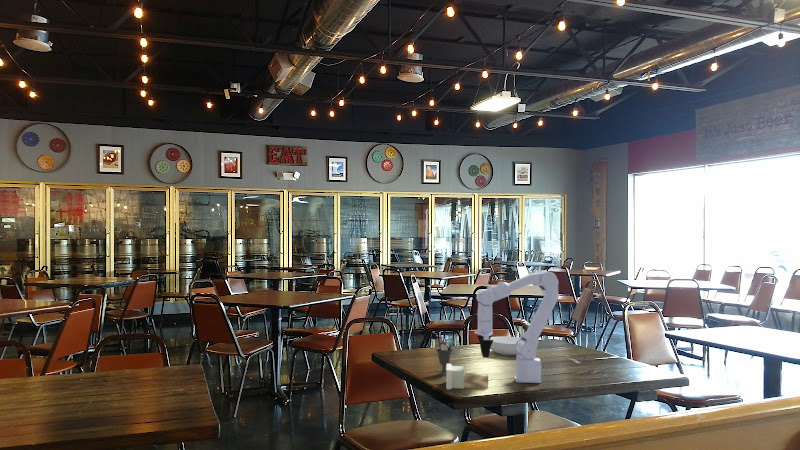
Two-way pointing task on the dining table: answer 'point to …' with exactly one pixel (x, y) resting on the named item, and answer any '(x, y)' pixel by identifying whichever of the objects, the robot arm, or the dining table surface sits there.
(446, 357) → the sundae
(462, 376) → the block
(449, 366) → the wall
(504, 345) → the serving bowl
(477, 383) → the peg
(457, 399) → the dining table surface
